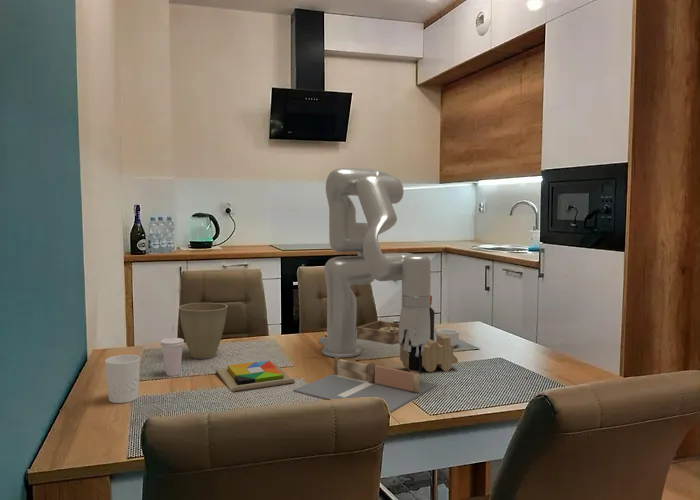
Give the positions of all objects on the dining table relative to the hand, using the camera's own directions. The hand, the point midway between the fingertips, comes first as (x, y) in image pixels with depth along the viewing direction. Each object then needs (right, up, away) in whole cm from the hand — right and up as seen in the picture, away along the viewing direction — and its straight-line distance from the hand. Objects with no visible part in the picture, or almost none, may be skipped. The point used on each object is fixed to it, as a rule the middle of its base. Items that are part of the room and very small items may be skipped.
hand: (415, 370), depth 148 cm
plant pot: (-64, -2, +28) cm, 70 cm away
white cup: (-73, -5, -11) cm, 74 cm away
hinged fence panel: (-5, -4, -3) cm, 7 cm away
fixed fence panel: (-16, -4, +5) cm, 18 cm away
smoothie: (-68, -3, +9) cm, 68 cm away
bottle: (+6, -3, +29) cm, 30 cm away
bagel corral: (-4, 0, +56) cm, 57 cm away
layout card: (-13, -5, -2) cm, 14 cm away
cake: (-3, -1, +55) cm, 55 cm away
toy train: (+5, -4, +16) cm, 17 cm away
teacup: (+16, -1, +45) cm, 48 cm away
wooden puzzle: (-44, -4, +6) cm, 45 cm away
